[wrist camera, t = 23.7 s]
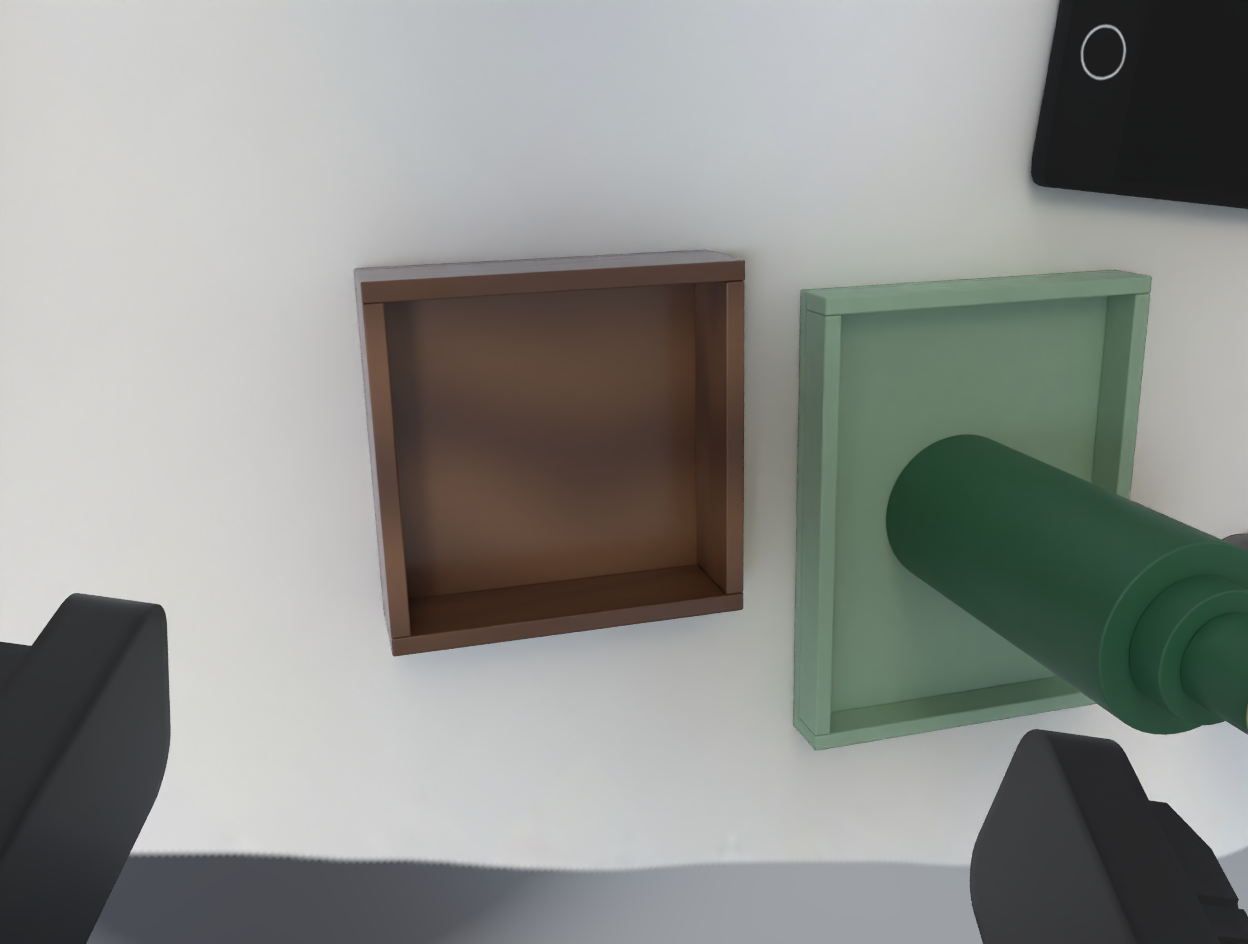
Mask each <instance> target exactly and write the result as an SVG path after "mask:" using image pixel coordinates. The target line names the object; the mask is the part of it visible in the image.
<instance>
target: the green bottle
mask: <svg viewBox="0 0 1248 944" xmlns="http://www.w3.org/2000/svg"><path fill="white" fill-rule="evenodd" d="M886 529H887V535H888V539H889V543H890V546H891V548H892V550H893V552H894V554H895V556H896V557H897V559H898V560H899V562H900V563H901V564H902V565H903V566H904V567H905V568H906V569H907V570H909V571H910V572H911V573H912V574H914V575H915V576H917V577H918V578H919V579H921V580H922V581H924V582H925V583H927V584H928V585H929V586H931V587H932V588H934V589H935V590H936V591H938V592H939V593H941V594H942V595H944V596H945V597H946V598H948V599H949V600H951V601H952V602H954V603H955V604H956V605H958V606H959V607H961V608H962V609H963V610H965V611H966V612H968V613H969V614H971V615H972V616H973V617H975V618H976V619H978V620H979V621H980V622H982V623H983V624H985V625H986V626H988V627H989V628H990V629H992V630H993V631H995V632H996V633H998V634H999V635H1000V636H1002V637H1003V638H1005V639H1006V640H1007V641H1009V642H1010V643H1012V644H1013V645H1015V646H1016V647H1017V648H1019V649H1020V650H1022V651H1023V652H1024V653H1026V654H1027V655H1029V656H1030V657H1032V658H1033V659H1034V660H1036V661H1037V662H1039V663H1040V664H1041V665H1043V666H1044V667H1046V668H1047V669H1049V670H1050V671H1051V672H1053V673H1054V674H1056V675H1057V676H1059V677H1060V678H1061V679H1063V680H1064V681H1066V682H1067V683H1068V684H1070V685H1071V686H1073V687H1074V688H1076V689H1077V690H1078V691H1080V692H1081V693H1083V694H1084V695H1085V696H1087V697H1088V698H1090V699H1091V700H1093V701H1094V702H1095V703H1097V704H1098V705H1100V706H1101V707H1103V708H1104V709H1105V710H1107V711H1108V712H1110V713H1111V714H1112V715H1114V716H1115V717H1117V718H1118V719H1120V720H1121V721H1122V722H1124V723H1125V724H1127V725H1129V726H1131V727H1132V728H1134V729H1137V730H1140V731H1142V732H1146V733H1152V734H1165V735H1167V734H1176V733H1181V732H1185V731H1189V730H1192V729H1194V728H1197V727H1200V726H1202V725H1212V724H1217V723H1221V722H1224V721H1227V722H1228V723H1230V724H1232V725H1233V726H1235V727H1236V728H1238V729H1240V730H1241V731H1243V732H1244V733H1246V734H1248V553H1247V552H1246V551H1244V550H1243V549H1241V548H1239V547H1237V546H1235V545H1232V544H1230V543H1228V542H1225V541H1223V540H1221V539H1219V538H1216V537H1214V536H1212V535H1209V534H1207V533H1205V532H1203V531H1200V530H1198V529H1196V528H1193V527H1191V526H1189V525H1186V524H1184V523H1182V522H1180V521H1177V520H1175V519H1173V518H1170V517H1168V516H1166V515H1164V514H1161V513H1159V512H1157V511H1154V510H1152V509H1150V508H1147V507H1145V506H1143V505H1141V504H1138V503H1136V502H1134V501H1131V500H1129V499H1127V498H1124V497H1122V496H1120V495H1118V494H1115V493H1113V492H1111V491H1108V490H1106V489H1104V488H1102V487H1099V486H1097V485H1095V484H1092V483H1090V482H1088V481H1085V480H1083V479H1081V478H1079V477H1076V476H1074V475H1072V474H1069V473H1067V472H1065V471H1062V470H1060V469H1058V468H1056V467H1053V466H1051V465H1049V464H1046V463H1044V462H1042V461H1040V460H1037V459H1035V458H1033V457H1030V456H1028V455H1026V454H1023V453H1021V452H1019V451H1017V450H1014V449H1012V448H1010V447H1007V446H1005V445H1003V444H1000V443H998V442H996V441H994V440H991V439H989V438H986V437H983V436H979V435H971V434H969V435H956V436H951V437H948V438H944V439H942V440H939V441H937V442H935V443H933V444H931V445H929V446H928V447H926V448H925V449H923V450H922V451H921V452H919V453H918V454H917V455H916V456H915V457H914V458H913V459H912V460H911V461H910V462H909V463H908V464H907V465H906V467H905V468H904V469H903V470H902V472H901V474H900V475H899V477H898V478H897V480H896V482H895V484H894V486H893V489H892V491H891V494H890V497H889V501H888V505H887V512H886Z"/></svg>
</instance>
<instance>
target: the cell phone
mask: <svg viewBox="0 0 1248 944" xmlns="http://www.w3.org/2000/svg"><path fill="white" fill-rule="evenodd" d="M1031 174H1032V178H1033V181H1034V182H1035V183H1036V184H1038V185H1040V186H1043V187H1052V188H1061V189H1071V190H1080V191H1089V192H1098V193H1107V194H1116V195H1126V196H1135V197H1144V198H1153V199H1162V200H1171V201H1181V202H1190V203H1199V204H1208V205H1217V206H1227V207H1236V208H1245V209H1248V0H1061V1H1060V7H1059V12H1058V18H1057V23H1056V29H1055V35H1054V40H1053V46H1052V51H1051V57H1050V62H1049V68H1048V73H1047V79H1046V85H1045V90H1044V96H1043V101H1042V107H1041V112H1040V118H1039V124H1038V129H1037V135H1036V140H1035V146H1034V151H1033V157H1032V171H1031Z"/></svg>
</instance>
